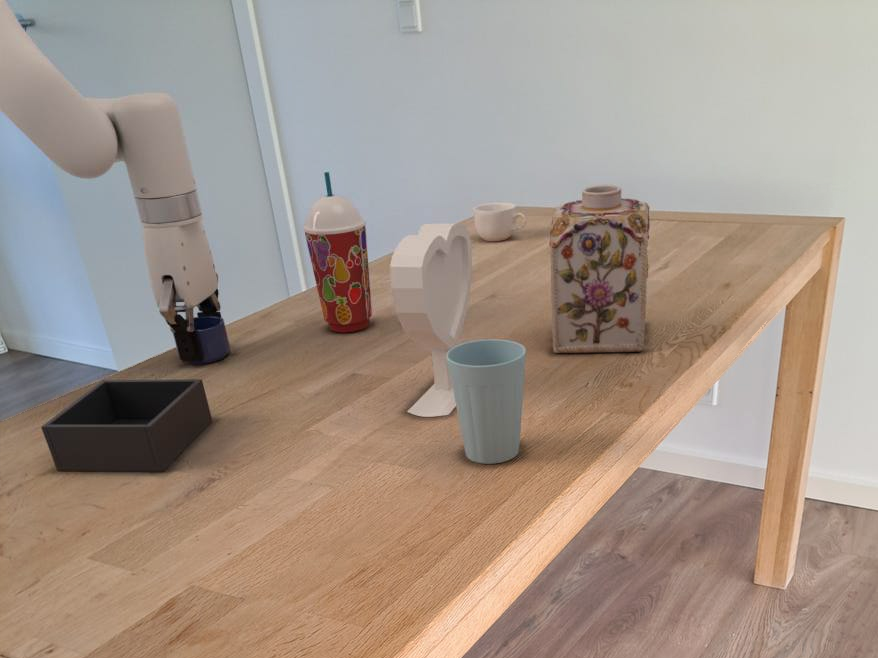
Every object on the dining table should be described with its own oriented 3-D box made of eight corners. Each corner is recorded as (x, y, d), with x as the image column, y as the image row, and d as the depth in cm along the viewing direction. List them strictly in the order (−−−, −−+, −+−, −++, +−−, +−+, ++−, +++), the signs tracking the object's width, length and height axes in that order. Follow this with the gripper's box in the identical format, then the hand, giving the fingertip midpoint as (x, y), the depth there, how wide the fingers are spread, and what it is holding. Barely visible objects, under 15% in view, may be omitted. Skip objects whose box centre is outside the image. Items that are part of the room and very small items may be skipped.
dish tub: (57, 470, 97) (40, 426, 94) (115, 421, 108) (102, 380, 105) (163, 471, 95) (150, 426, 92) (212, 421, 106) (202, 379, 103)
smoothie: (387, 318, 133) (368, 166, 122) (363, 337, 127) (341, 178, 115) (336, 316, 136) (313, 167, 124) (310, 334, 130) (283, 179, 118)
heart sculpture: (442, 421, 101) (425, 249, 90) (400, 418, 103) (379, 248, 92) (485, 371, 113) (475, 214, 102) (447, 369, 114) (433, 214, 104)
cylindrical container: (172, 366, 123) (163, 332, 120) (192, 348, 128) (184, 316, 125) (219, 365, 122) (211, 331, 119) (238, 348, 127) (231, 315, 124)
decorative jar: (646, 323, 124) (651, 176, 113) (645, 353, 114) (651, 195, 104) (557, 325, 125) (554, 181, 115) (549, 354, 116) (546, 200, 106)
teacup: (467, 242, 168) (465, 210, 165) (486, 232, 173) (484, 201, 170) (517, 245, 164) (516, 212, 161) (534, 234, 169) (533, 203, 166)
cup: (536, 438, 96) (532, 338, 90) (522, 470, 90) (517, 366, 84) (465, 436, 97) (457, 338, 91) (447, 468, 92) (437, 365, 85)
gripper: (171, 195, 121) (204, 331, 132) (108, 226, 108) (150, 374, 118) (224, 193, 120) (253, 330, 131) (167, 223, 106) (205, 373, 117)
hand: (204, 350), depth 124 cm, fingers closed on cylindrical container, 6 cm apart
